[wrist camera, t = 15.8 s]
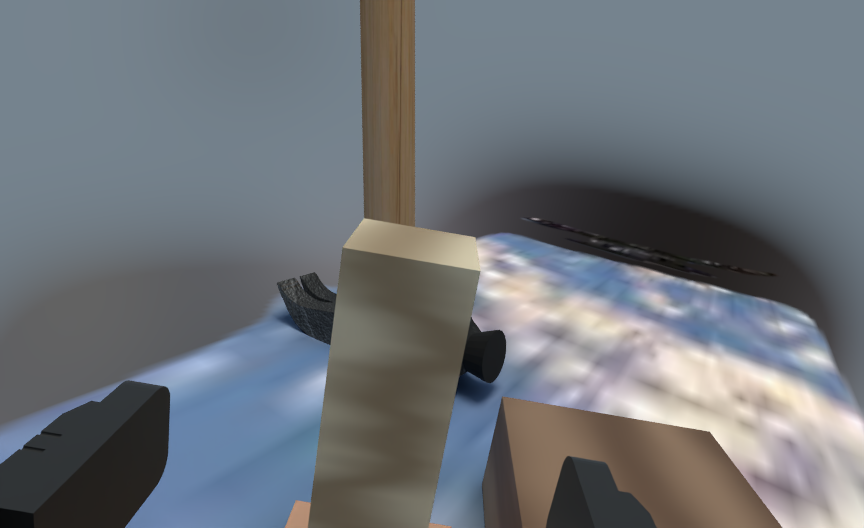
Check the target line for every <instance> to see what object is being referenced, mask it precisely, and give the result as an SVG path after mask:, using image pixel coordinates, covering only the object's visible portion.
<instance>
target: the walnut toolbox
mask: <svg viewBox="0 0 864 528" xmlns="http://www.w3.org/2000/svg"><path fill="white" fill-rule="evenodd" d="M567 456H572V457H578V458H584V459H590V460H596V461H602V462H605V463H606V464H607V465H608V467H609V469H610V471H611V474H612V476H613V479H614V481H615V483H616V486H617V488H618V490H619V491H622V492H628V493H631V494H632V495H633V496H634V497H635V498H636V499H637V500H638V501H639V502H640V503H641V504H642V505H643V507H644V508H645V509H646V510H647V511H648V512H649V513H650V514H651V516H652V518H653V521H654V523H655V525H656V527H657V528H782V527H781V525H780V524H779V523H778V521H777V520H776V519H775V517H774V516H773V515H772V513H771V512H770V511H769V509H768V508H767V507H766V505H765V504H764V503H763V502H762V500H761V499H760V498H759V496H758V495H757V494H756V492H755V491H754V490H753V488H752V487H751V486H750V484H749V483H748V482H747V480H746V479H745V478H744V476H743V475H742V474H741V473H740V471H739V470H738V469H737V467H736V466H735V465H734V463H733V462H732V461H731V459H730V458H729V457H728V455H727V454H726V453H725V451H724V450H723V449H722V447H721V446H720V445H719V443H718V442H717V441H716V440H715V438H714V437H713V436H712V434H711V433H710V432H707V431H702V430H696V429H690V428H684V427H678V426H672V425H666V424H661V423H655V422H649V421H643V420H637V419H631V418H625V417H620V416H614V415H608V414H602V413H596V412H590V411H584V410H579V409H573V408H567V407H561V406H555V405H549V404H543V403H538V402H532V401H526V400H520V399H514V398H508V397H502V400H501V404H500V409H499V413H498V417H497V422H496V426H495V430H494V435H493V439H492V443H491V448H490V452H489V456H488V461H487V465H486V469H485V474H484V478H483V482H482V490H483V505H484V519H485V528H546V523H547V518H548V514H549V511H550V507H551V504H552V500H553V496H554V493H555V489H556V486H557V482H558V479H559V475H560V471H561V468H562V465H563V462H564V460H565V458H566V457H567Z"/></svg>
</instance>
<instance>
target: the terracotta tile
mask: <svg viewBox="0 0 864 528" xmlns="http://www.w3.org/2000/svg"><path fill="white" fill-rule="evenodd" d="M310 505H311V503H309V502H303V501H297V500H296V501H295V504H294V506H293V509H292V511H291V514H290V516H289V519H288V521H287V524H286V526H285V528H308V521H309V513H310ZM428 528H451V526H445V525H439V524H433V523H429V527H428Z"/></svg>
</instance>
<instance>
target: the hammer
mask: <svg viewBox="0 0 864 528" xmlns="http://www.w3.org/2000/svg"><path fill="white" fill-rule="evenodd" d="M360 21H361V22H360V24H361V70H362V71H361V76H362V128H363V176H364V177H363V180H364V218H365V219H371V220H377V221H383V222H389V223H394V224H400V225H406V226H412V227H415V0H360ZM300 279H301V283H302V286H303V288H304V290H303V289H302V287H301V286H300V284H299V283H298V281H297V280H296V279H295V278H293V279H289V280H285V281H281V282H278V283H277V285H278V288H279V291H280V293H281V296H282V298H283V300H284V302H285V305H286V307H287V310H288V311H289V313H290V315H291V317H292V318H293V320H294V322H295V323H296V324H297V325H298V327H299V328H300V329H301V330H302V331H303V332H305V333H306V334H307V335H308V336H310V337H313V338H315V339H317V340H320V341H322V342H324V343H327V344H329V345H331V337H332V329H333V321H334V313H335V305H336V297H337V294H335V293H333V292H331V291H330V290H328V289H327V288H326V287H325V286H324V285H323V283H322V282H321V281H320V279H319V278H318V276H317V274H316V273H310V274H307V275H303V276H300ZM505 354H506V339H505V335H504V333H503V332H502V331H500V330H494V331H486V332H481V331H480V329H479V328H478V327H477V325H476V324H475V323H474V321H473V320H472V317H471V320H470V325H469V330H468V335H467V340H466V345H465V350H464V354H463V359H462V364H461V369H460V374H459V376H461V375H463V374H465V373H466V372H467V371H468V372H469V373H471V374H473V375H475V376H476V377H478V378H480V379H481V380H483V381H485V382H487V383H492V382H493V381H494V380H495V379H496V378H497V377H498V375H499V373H500V371H501V369H502V366H503V363H504V359H505Z"/></svg>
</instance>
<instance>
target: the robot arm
mask: <svg viewBox="0 0 864 528" xmlns="http://www.w3.org/2000/svg"><path fill="white" fill-rule="evenodd" d="M169 413H170V393H169V390H168V388H167V387H164V386H159V385H153V384H147V383H141V382H135V381H125V382H123V383H122V384H121V385H119V386H118V387H117V388H116V389H115V390H114V391H113V392H111V393H110V394H109V395H108V396H107V397H106V398H104V399H103V400H102V401H101V402H95V401H90V402H88V403H86V404H83V405H81V406H79V407H77V408H75V409H72V410H70V411H68V412H66V413H63V414H62V415H61V416H59V417H58V418H57V419H56V420H54V421H53V422H52V423H51V424H50V425H48V426H47V427H46V428H45V429H43V430H42V431H41V434H40V435H36V436H35V437H34V438H32V439H31V440H30V441H29V442H27V443H26V444H25V445H24V446H23V449H22V450H20V449H19V450H18V451H16V452H15V453H14V454H13V455H11V456H10V457H9V458H8V459H6V460H5V461H4V462H3V463H1V464H0V528H125V527H126V525H127V524H128V523H129V521H130V520H131V519H132V517H133V516H134V515H135V513H136V512H137V511H138V509H139V508H140V507H141V506H142V504H143V503H144V502H145V500H146V499H147V498H148V496H149V495H150V494H151V492H152V491H153V490H154V488H155V487H156V486H157V484H158V482H159V481H160V479H161V477H162V474H163V472H164V469H165V466H166V462H167V457H168V441H169ZM546 528H657V527H656V525H655V523H654V521H653V518H652V516H651V514H650V513H649V512H648V511H647V510H646V509H645V508H644V507H643V505H642V504H641V503H640V502H639V501H638V500H637V499H636V498H635V497H634V496H633V495H632V494H631V493H628V492H622V491H619V490H618V488H617V486H616V483H615V481H614V479H613V476H612V474H611V471H610V469H609V467H608V465H607V464H606V463H605V462H602V461H596V460H590V459H584V458H578V457H572V456H567V457H566V458H565V460H564V462H563V465H562V468H561V471H560V475H559V479H558V482H557V486H556V489H555V493H554V496H553V500H552V504H551V507H550V511H549V514H548V518H547V523H546Z"/></svg>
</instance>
